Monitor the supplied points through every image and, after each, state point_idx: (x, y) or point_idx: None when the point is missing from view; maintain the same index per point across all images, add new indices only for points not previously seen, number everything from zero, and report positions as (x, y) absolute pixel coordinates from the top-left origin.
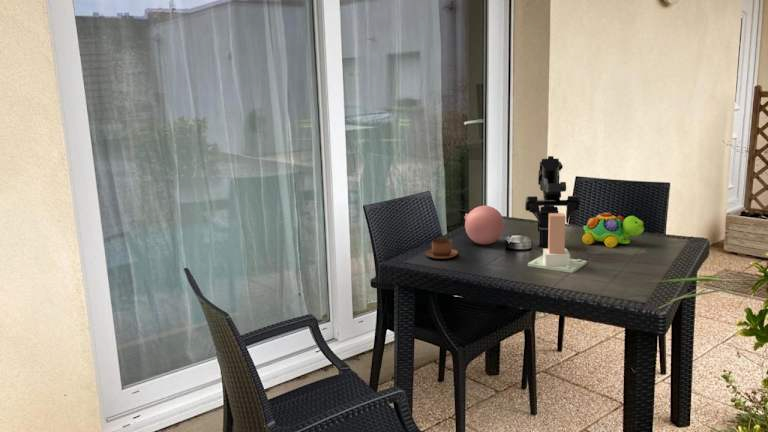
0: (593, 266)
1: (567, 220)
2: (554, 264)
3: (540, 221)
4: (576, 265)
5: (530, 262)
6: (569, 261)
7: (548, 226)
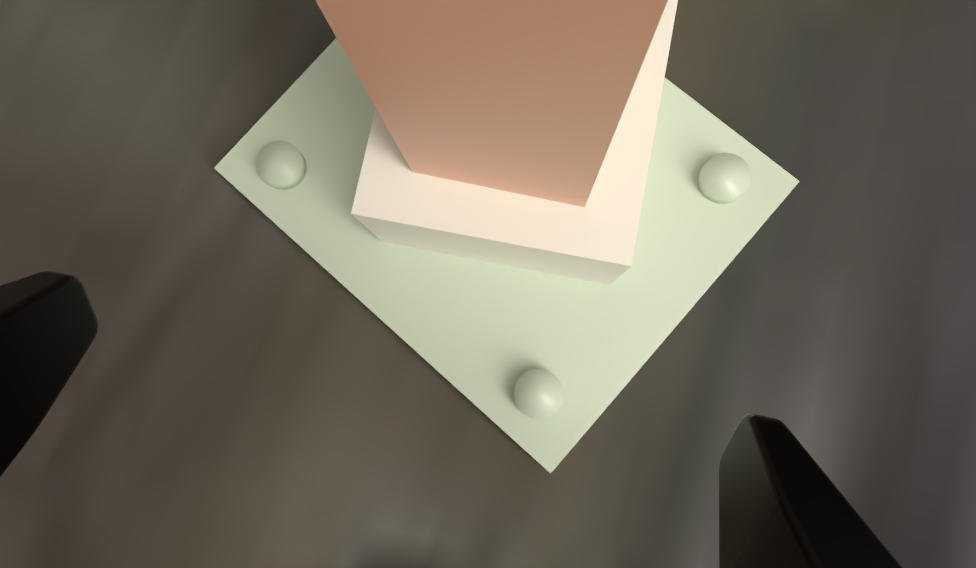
0: (206, 87)
1: (26, 292)
2: None
3: (777, 429)
4: None
5: (763, 206)
6: None
7: (647, 46)
